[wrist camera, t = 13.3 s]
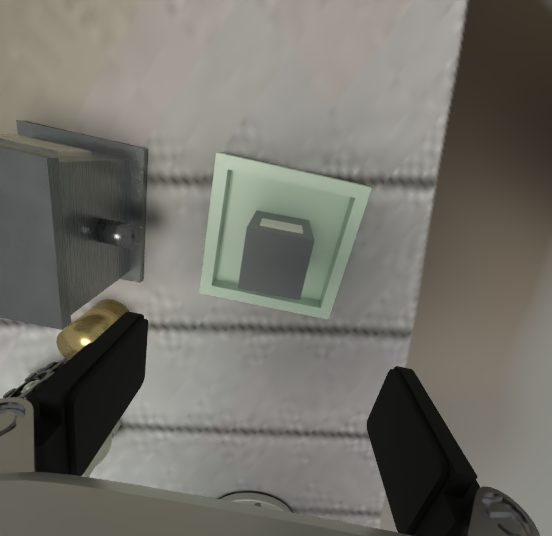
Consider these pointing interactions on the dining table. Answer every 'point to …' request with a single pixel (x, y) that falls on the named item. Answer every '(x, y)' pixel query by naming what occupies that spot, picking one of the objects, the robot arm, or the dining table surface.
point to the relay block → (276, 255)
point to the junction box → (67, 221)
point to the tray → (289, 202)
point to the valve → (34, 383)
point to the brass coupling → (89, 327)
